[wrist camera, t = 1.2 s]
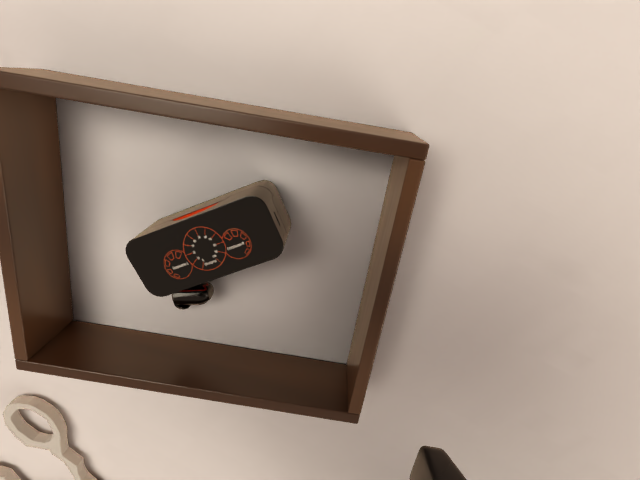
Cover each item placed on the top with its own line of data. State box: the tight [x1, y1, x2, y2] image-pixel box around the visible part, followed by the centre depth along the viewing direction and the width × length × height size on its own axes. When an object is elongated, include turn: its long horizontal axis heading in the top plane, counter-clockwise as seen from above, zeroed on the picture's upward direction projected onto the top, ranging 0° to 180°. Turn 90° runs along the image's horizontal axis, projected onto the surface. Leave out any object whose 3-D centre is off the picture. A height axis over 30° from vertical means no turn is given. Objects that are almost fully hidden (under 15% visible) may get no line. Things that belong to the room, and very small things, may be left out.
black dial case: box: [126, 180, 291, 309], centre depth 18 cm, size 5×7×3 cm, turn 111°
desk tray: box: [0, 67, 429, 424], centre depth 18 cm, size 13×16×4 cm
